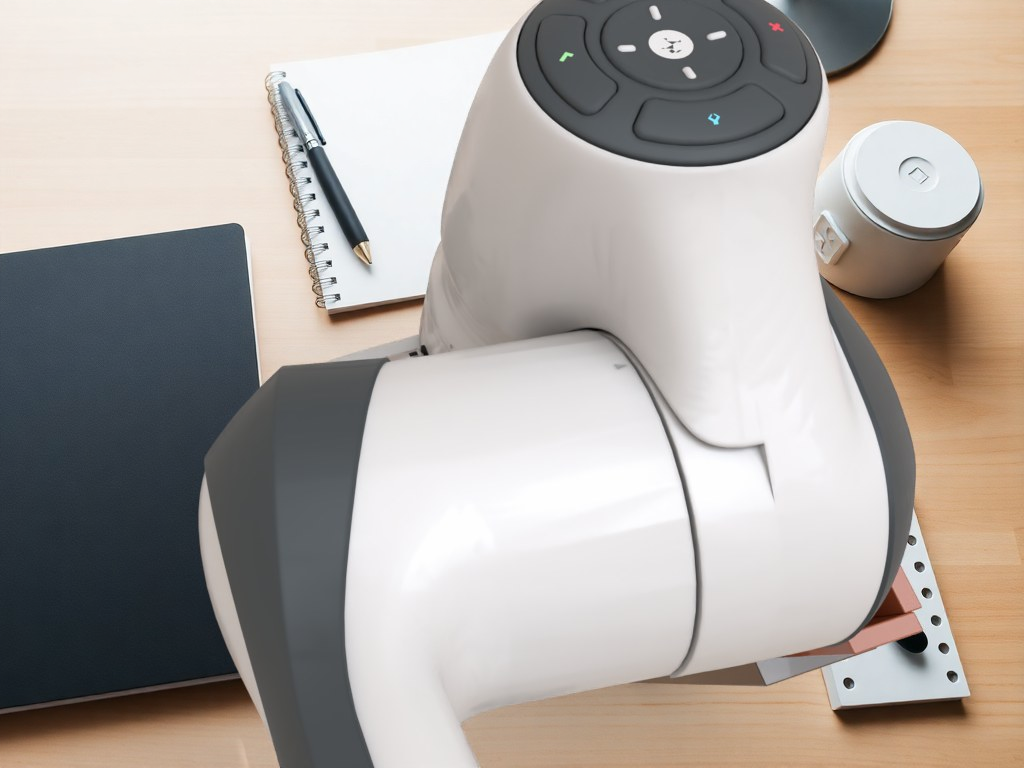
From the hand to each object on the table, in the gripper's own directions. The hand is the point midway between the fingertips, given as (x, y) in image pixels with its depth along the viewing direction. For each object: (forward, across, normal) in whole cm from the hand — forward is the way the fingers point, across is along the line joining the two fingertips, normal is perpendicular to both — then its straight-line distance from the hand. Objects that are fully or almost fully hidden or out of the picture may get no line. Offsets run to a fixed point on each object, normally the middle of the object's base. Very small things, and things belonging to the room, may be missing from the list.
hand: (479, 424), depth 47 cm
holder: (+28, +14, -14) cm, 35 cm away
